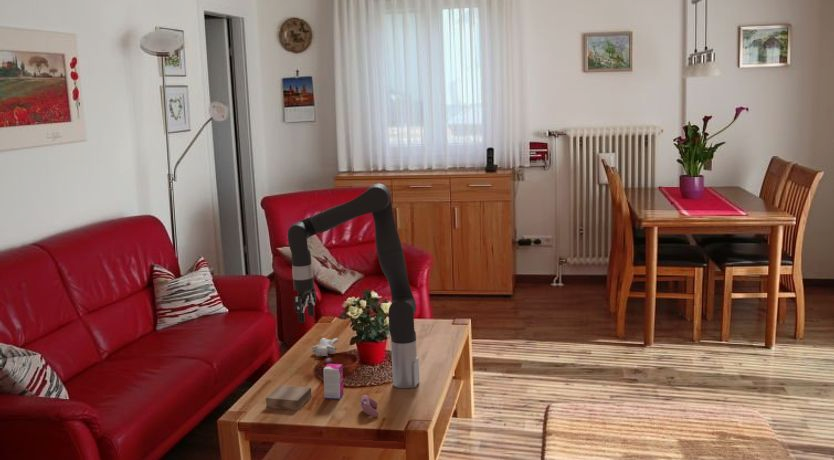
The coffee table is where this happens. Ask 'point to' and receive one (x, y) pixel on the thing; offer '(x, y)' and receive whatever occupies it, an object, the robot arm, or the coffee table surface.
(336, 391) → the supplement box
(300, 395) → the grey wooden square block
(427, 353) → the coffee table surface
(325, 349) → the bunny figurine
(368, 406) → the pink rounded lump
